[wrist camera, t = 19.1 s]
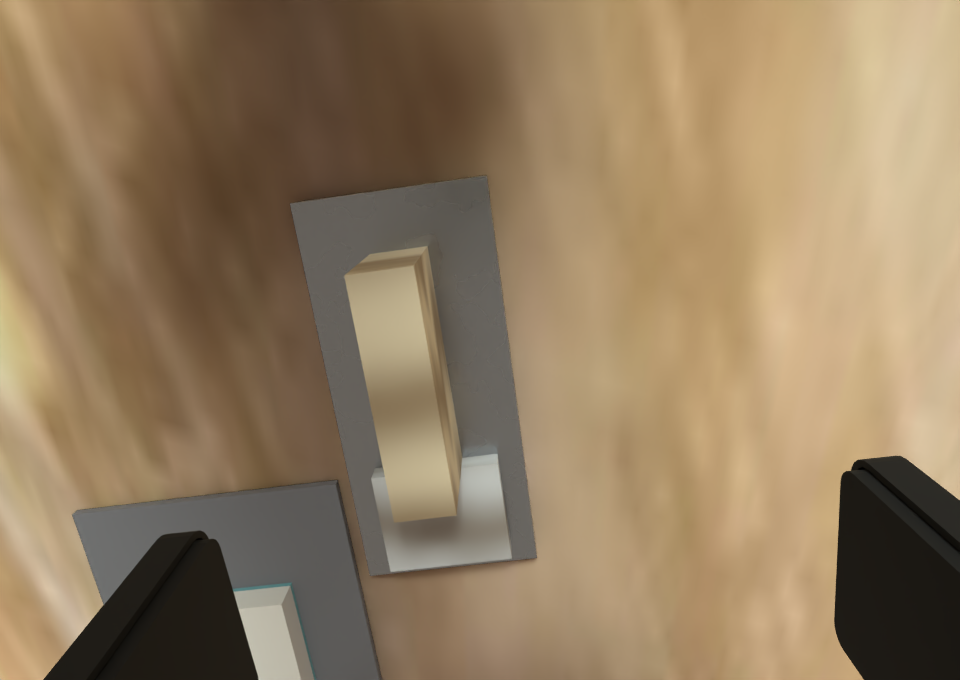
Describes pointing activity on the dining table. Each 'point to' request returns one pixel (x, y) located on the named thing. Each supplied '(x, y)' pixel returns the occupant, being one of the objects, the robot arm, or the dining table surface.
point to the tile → (275, 632)
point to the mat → (257, 558)
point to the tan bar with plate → (420, 423)
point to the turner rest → (464, 324)
